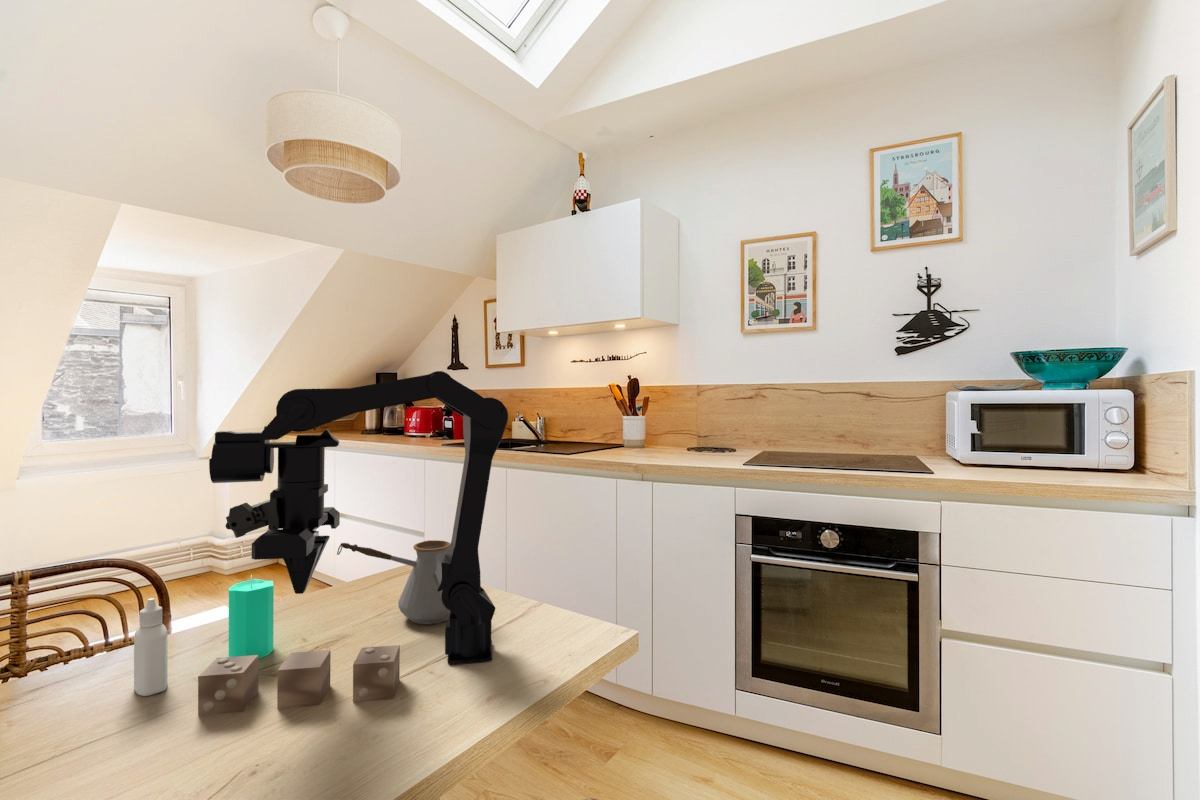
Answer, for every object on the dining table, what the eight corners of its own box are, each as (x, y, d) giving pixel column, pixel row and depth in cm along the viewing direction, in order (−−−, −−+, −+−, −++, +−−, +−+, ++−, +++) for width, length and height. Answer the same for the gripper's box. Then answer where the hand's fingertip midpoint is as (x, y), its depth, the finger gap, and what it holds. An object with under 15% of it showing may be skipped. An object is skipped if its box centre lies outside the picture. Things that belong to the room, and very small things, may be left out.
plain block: (330, 686, 78) (330, 649, 78) (319, 705, 74) (320, 667, 74) (290, 689, 78) (290, 652, 77) (277, 709, 73) (277, 670, 73)
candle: (252, 664, 84) (252, 582, 84) (217, 659, 86) (218, 579, 86) (282, 646, 90) (283, 570, 90) (250, 642, 92) (250, 567, 91)
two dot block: (399, 680, 80) (399, 644, 80) (393, 700, 75) (393, 660, 75) (361, 683, 79) (361, 646, 79) (352, 703, 74) (352, 663, 74)
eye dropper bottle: (177, 675, 81) (177, 590, 81) (162, 695, 75) (162, 604, 75) (140, 680, 79) (140, 593, 79) (121, 701, 74) (121, 608, 74)
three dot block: (258, 692, 77) (258, 653, 77) (242, 713, 72) (242, 672, 72) (216, 695, 76) (216, 656, 76) (197, 717, 71) (197, 675, 71)
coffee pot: (454, 600, 111) (455, 523, 111) (472, 621, 101) (473, 536, 101) (333, 620, 101) (334, 535, 100) (339, 646, 91) (340, 551, 90)
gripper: (261, 471, 86) (260, 574, 87) (204, 492, 68) (202, 623, 68) (341, 470, 89) (339, 571, 89) (305, 490, 71) (304, 617, 71)
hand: (300, 592), depth 79 cm, fingers closed
